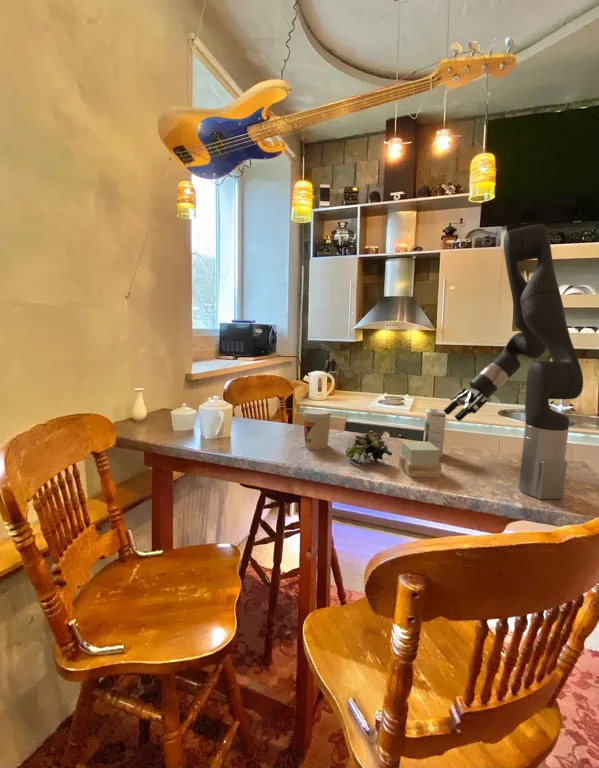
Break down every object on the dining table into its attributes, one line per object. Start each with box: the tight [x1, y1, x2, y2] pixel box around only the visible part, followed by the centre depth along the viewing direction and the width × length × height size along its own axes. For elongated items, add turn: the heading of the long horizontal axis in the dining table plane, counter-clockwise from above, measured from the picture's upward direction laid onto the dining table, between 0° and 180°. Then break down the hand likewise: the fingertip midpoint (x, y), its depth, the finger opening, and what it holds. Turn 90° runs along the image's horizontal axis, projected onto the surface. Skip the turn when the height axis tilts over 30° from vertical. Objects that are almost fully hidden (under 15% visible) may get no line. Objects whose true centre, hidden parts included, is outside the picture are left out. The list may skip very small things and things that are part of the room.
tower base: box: [398, 453, 442, 478], centre depth 116 cm, size 9×9×4 cm
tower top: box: [400, 441, 440, 464], centre depth 115 cm, size 8×8×4 cm
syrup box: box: [422, 408, 447, 458], centre depth 131 cm, size 6×6×14 cm
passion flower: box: [345, 432, 393, 467], centre depth 122 cm, size 11×11×12 cm
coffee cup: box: [302, 408, 332, 450], centre depth 138 cm, size 9×9×12 cm
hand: (450, 415), depth 130 cm, fingers open, 8 cm apart
